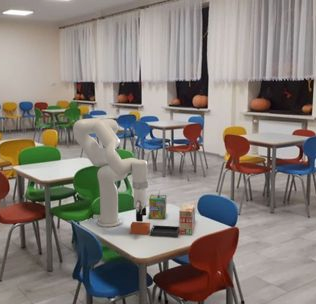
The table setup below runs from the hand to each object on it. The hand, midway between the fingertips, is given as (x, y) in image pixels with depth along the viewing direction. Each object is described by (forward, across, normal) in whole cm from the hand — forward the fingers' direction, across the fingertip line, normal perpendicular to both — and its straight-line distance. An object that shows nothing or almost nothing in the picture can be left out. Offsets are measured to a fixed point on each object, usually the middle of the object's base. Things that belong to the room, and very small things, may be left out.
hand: (141, 218), depth 210 cm
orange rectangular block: (+7, 0, -1) cm, 8 cm away
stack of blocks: (+8, -12, +22) cm, 26 cm away
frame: (+8, -2, +12) cm, 14 cm away
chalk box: (+7, -26, +4) cm, 28 cm away
